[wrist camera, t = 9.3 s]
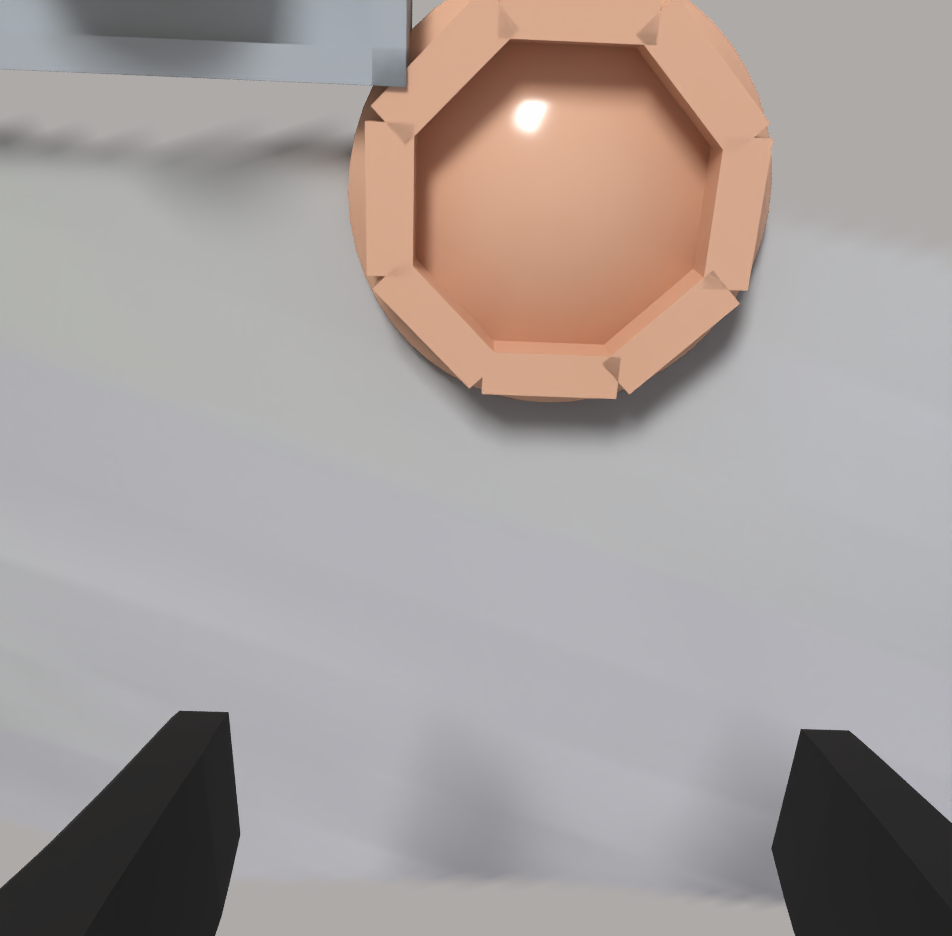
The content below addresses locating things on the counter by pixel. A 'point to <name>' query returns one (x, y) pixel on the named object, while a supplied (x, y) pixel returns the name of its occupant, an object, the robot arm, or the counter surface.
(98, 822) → the robot arm
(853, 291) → the counter surface
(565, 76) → the dish
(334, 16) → the tray
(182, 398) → the counter surface
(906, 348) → the counter surface
